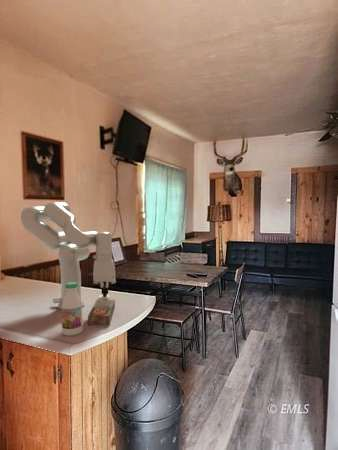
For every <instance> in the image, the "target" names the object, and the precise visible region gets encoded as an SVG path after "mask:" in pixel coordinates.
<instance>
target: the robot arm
mask: <svg viewBox="0 0 338 450" xmlns="http://www.w3.org/2000/svg"><path fill="white" fill-rule="evenodd" d="M20 221H21V224H22V225H23V228H24V229H25V230H26V231H28V232H29V233H30V234H31V235H33V236H34V238H37V239H38V240H39V241H40V242H41V243H42V244H44V245H45V246H46V247H48V249H50V250H52V251H58V252H57V253H58V254H57V255H58V260H59V266H60V291H61V292H60V293H61V296H60V297H59V298H57V297H56V298H55V297H53V298H52V303H54V304H58V307H57V308H58V309H60V310H62V302H63V299H64V296H65V294H66V289H65V288H66V287H65V284H66V283H68V282H77V284H78V286H77V292H78V295H79V297H80V299H81V303H82V308H83V307H84V306H85V302H84V301H83V300H82V279H81V278H82V275H81V274H82V273H81V267H80V265H79V262H80V261H83V260H86V259H88V257H90V254H91V253H90V252H91V250H90V248H91V247H95V254H94V255H92V258H93V259H95V260H94V261H93V272H92V273H93V278H92V279H93V281H92V282H93V284H94V285H98V286H99V287H100V288H101V295H103V296H107V295H109V287H110V286H111V285H113V284H116V283H117V281H116V267H115V261H114V259H113V254H112V252H113V247H112V245H113V244H112V242H113V241H112V240H113V239H112V233H111V232H109V231H94V230H92V231H91V230H90V231H82V230H80V229H79V228H78V227H76V226H75V224H76V222H77V218H76V215H73V214H72V212H71V207H70V205H69V204H67V203H66V202H63V201H50V202H48V203H46V204H45V205H31V206H27V207H24V209H22V211H21V212H20ZM48 222H53V223H55V224H56V225H57V226H59V228H61V229H62V230H60V231H58V230H55V229H54V228H53V227H51V226H50V225H48V224H47V223H48ZM104 283H105V284H104Z"/></svg>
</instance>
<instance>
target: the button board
mask: <svg viewBox="0 0 338 450" xmlns="http://www.w3.org/2000/svg"><path fill="white" fill-rule="evenodd" d="M97 300H98V299H96V300H95V302H94V304H93V305H92V308H91V310H90V311H89V313H88V316H87V325H88V326H91V327H92V326H110V324H111V322H112V319H113V315H114V312H115V308H116V302H115V300H116V299H113V298H112V299H110V304H109V308H108V309H107V314H106V315H93V312H94V310H95V309H96V302H97Z"/></svg>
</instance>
